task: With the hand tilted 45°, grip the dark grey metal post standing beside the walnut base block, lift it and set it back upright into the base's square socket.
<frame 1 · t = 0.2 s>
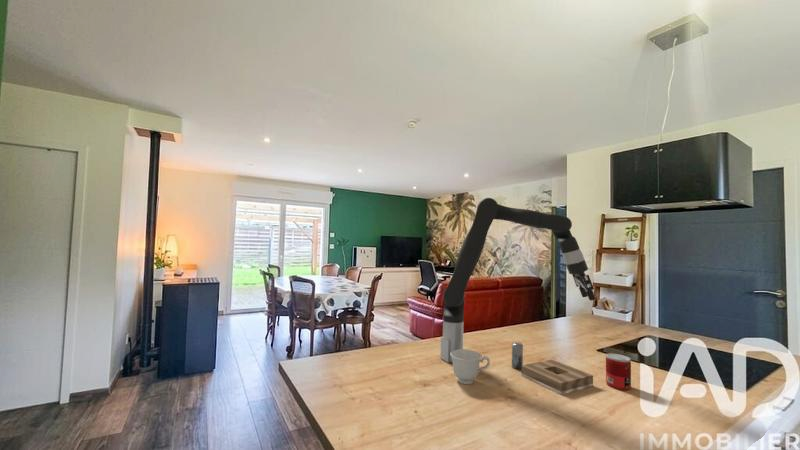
hand: (588, 298, 139), 31 cm above the counter, tool tilted 20°, fingers open, 8 cm apart
teacup: (469, 381, 126), on the counter
socket base: (556, 380, 129), on the counter
post: (517, 367, 142), on the counter
canned food: (618, 386, 126), on the counter
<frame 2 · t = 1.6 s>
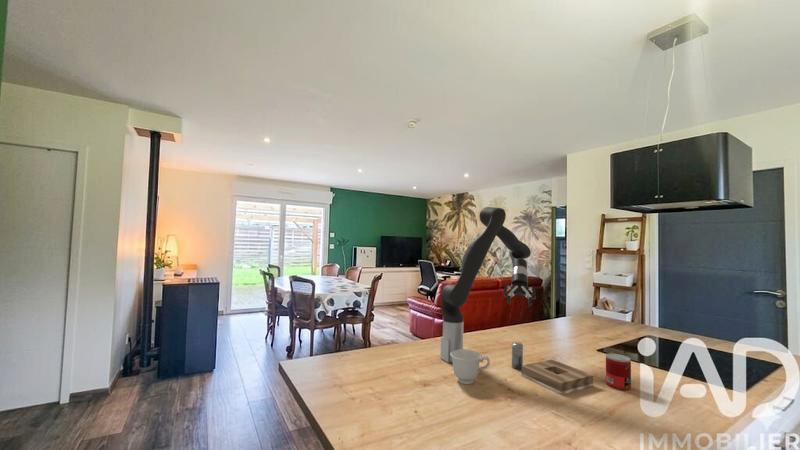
hand: (519, 304, 154), 25 cm above the counter, tool tilted 45°, fingers open, 8 cm apart
nothing on the counter moved.
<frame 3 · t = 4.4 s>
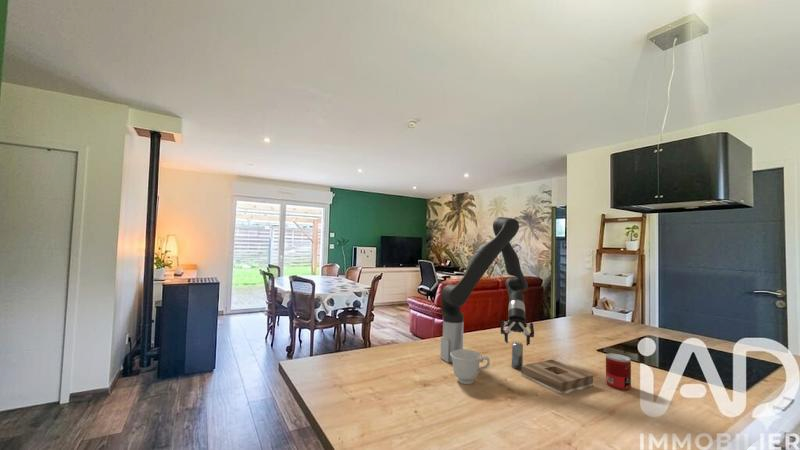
hand: (517, 343, 146), 9 cm above the counter, tool tilted 45°, fingers open, 8 cm apart
nothing on the counter moved.
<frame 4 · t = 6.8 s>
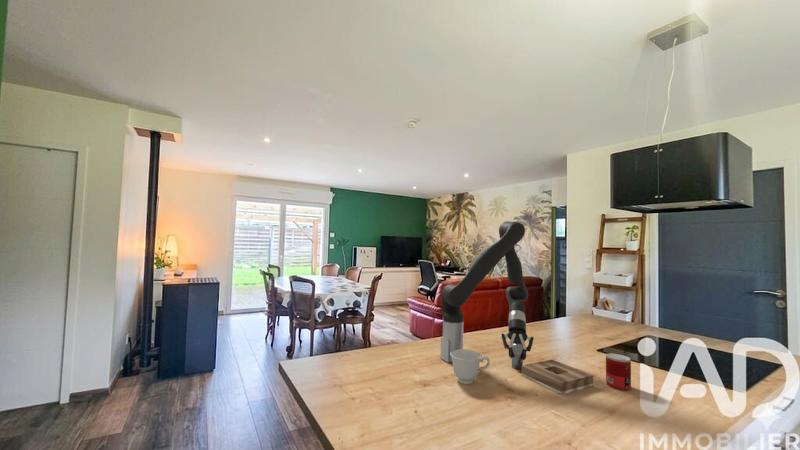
hand: (517, 358, 140), 5 cm above the counter, tool tilted 45°, fingers closed on post, 4 cm apart
post: (517, 367, 142), on the counter, touching gripper
everything else where it was.
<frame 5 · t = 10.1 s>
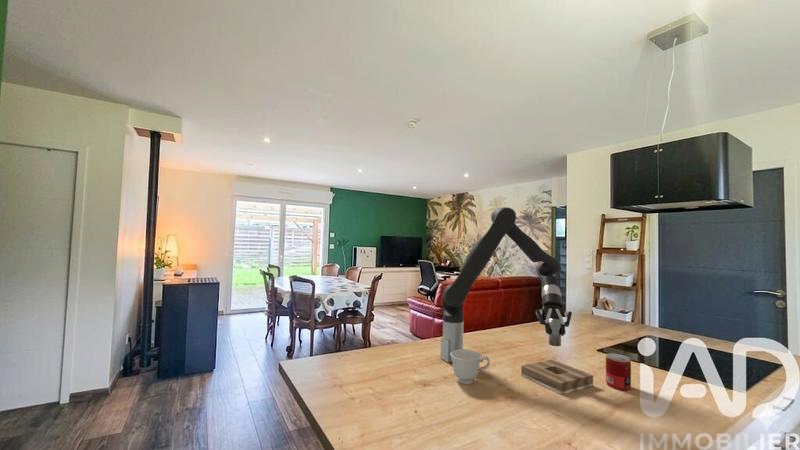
hand: (555, 333, 129), 18 cm above the counter, tool tilted 45°, fingers closed on post, 4 cm apart
post: (554, 344, 131), point 14 cm above the counter, touching gripper
everything else where it was.
when the fingers open (7 cm above the counter, at t = 13.7 s): post drops 1 cm, resting on socket base.
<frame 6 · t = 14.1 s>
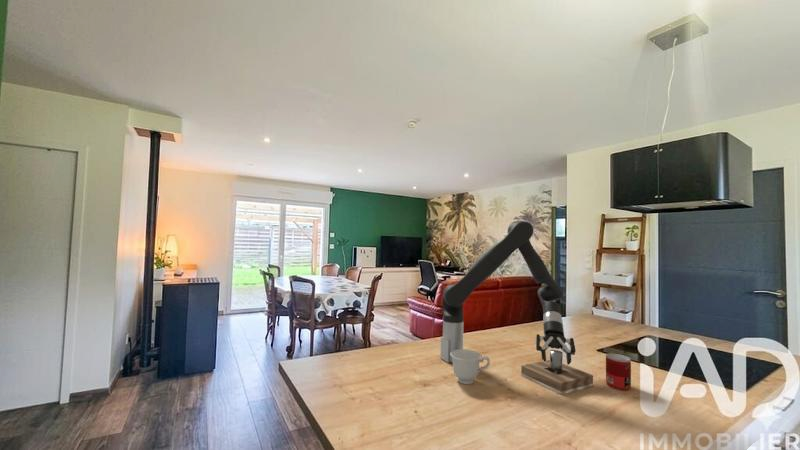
hand: (556, 362, 128), 8 cm above the counter, tool tilted 45°, fingers open, 8 cm apart
post: (555, 377, 129), point 1 cm above the counter, touching socket base
everything else where it was.
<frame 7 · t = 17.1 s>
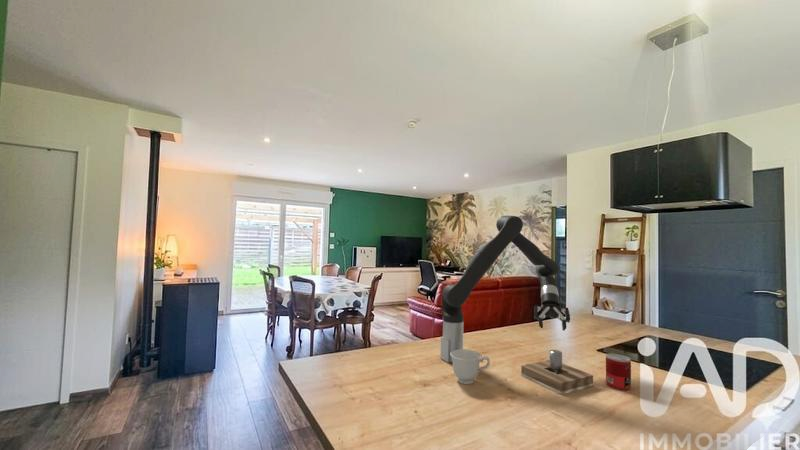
hand: (552, 328, 141), 17 cm above the counter, tool tilted 45°, fingers open, 8 cm apart
nothing on the counter moved.
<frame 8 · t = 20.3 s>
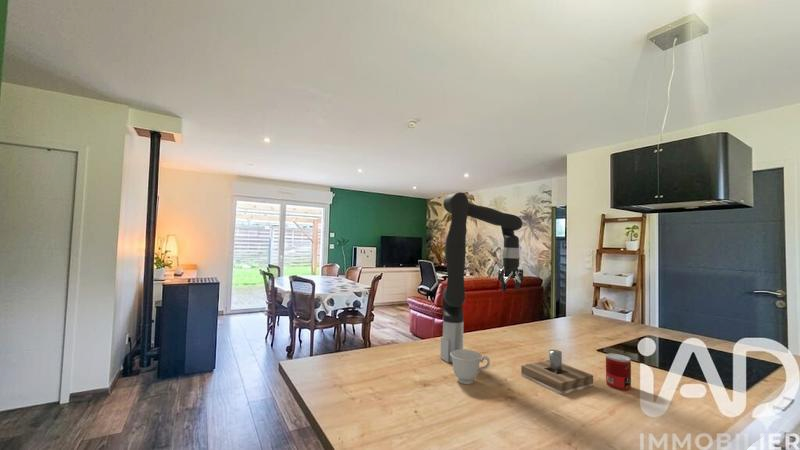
hand: (510, 290, 160), 30 cm above the counter, tool pointing down, fingers open, 8 cm apart
nothing on the counter moved.
at the end: post 0.2 cm off-centre on the socket base, point 1.1 cm above the socket base's base; post tilted 2°; the gripper is holding nothing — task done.
